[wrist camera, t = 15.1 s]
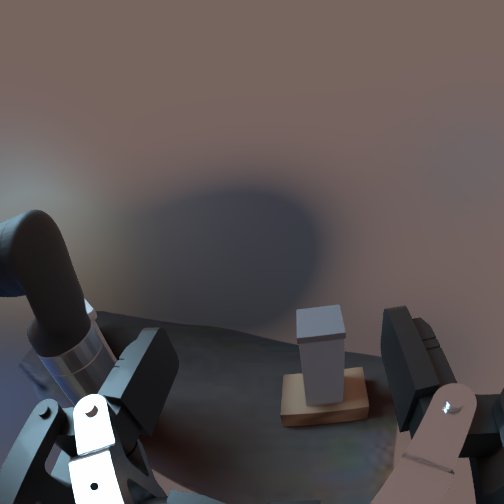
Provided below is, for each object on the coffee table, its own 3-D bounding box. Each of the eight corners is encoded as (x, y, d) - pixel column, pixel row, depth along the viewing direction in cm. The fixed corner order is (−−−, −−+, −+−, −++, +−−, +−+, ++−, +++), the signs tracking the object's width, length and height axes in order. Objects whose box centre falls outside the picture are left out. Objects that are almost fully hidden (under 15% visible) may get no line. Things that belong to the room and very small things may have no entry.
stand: (283, 426, 33) (280, 415, 32) (286, 387, 39) (283, 374, 38) (367, 418, 31) (369, 406, 30) (360, 380, 37) (362, 366, 36)
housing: (305, 406, 32) (296, 338, 28) (305, 379, 37) (296, 309, 32) (343, 402, 31) (345, 332, 27) (340, 375, 36) (339, 304, 31)
